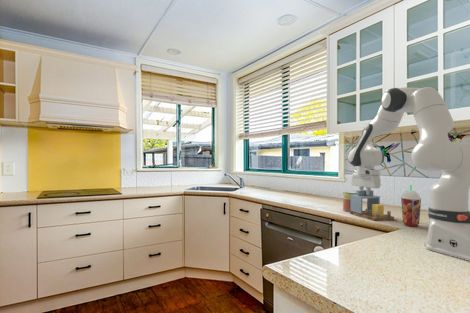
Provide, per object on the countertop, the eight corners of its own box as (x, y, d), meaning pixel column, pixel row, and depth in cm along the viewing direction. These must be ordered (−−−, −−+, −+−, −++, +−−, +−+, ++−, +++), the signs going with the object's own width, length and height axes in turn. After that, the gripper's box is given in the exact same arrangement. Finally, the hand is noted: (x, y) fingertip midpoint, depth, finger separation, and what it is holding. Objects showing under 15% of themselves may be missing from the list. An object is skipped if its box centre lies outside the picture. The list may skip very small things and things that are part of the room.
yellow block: (383, 216, 146) (383, 205, 146) (377, 216, 145) (377, 205, 145) (378, 214, 150) (378, 204, 150) (372, 215, 149) (372, 204, 149)
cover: (379, 212, 154) (379, 191, 154) (361, 213, 151) (361, 191, 151) (368, 209, 163) (368, 189, 163) (350, 210, 160) (350, 189, 160)
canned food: (348, 208, 177) (348, 190, 177) (365, 211, 168) (365, 192, 168) (339, 210, 170) (339, 191, 170) (356, 213, 161) (356, 193, 161)
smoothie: (424, 228, 127) (424, 186, 127) (405, 226, 128) (405, 185, 129) (416, 223, 135) (416, 184, 135) (398, 223, 137) (398, 184, 137)
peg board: (394, 219, 144) (394, 211, 144) (374, 220, 141) (374, 212, 141) (368, 212, 163) (368, 205, 163) (350, 213, 160) (350, 206, 160)
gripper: (348, 170, 167) (348, 192, 166) (373, 171, 147) (373, 197, 147) (357, 170, 168) (357, 192, 168) (382, 171, 148) (382, 196, 148)
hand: (364, 194), depth 157 cm, fingers closed on cover, 2 cm apart
